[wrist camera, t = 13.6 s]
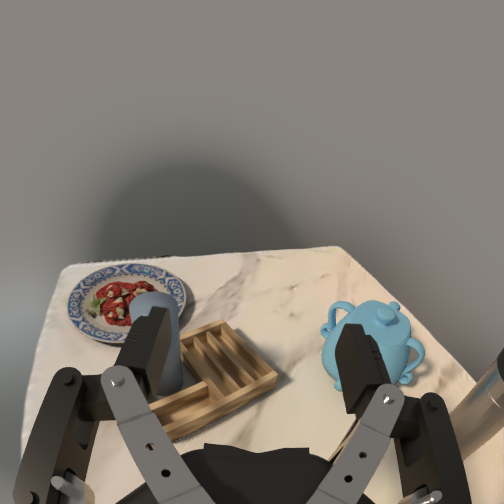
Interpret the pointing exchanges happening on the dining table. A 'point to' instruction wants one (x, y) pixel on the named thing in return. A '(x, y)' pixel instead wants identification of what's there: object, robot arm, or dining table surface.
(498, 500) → the dining table surface
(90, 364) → the dining table surface
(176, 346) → the pale blue cylinder
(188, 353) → the wooden compartment tray
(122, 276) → the ceramic plate
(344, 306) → the decorative pot
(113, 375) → the robot arm
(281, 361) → the dining table surface
